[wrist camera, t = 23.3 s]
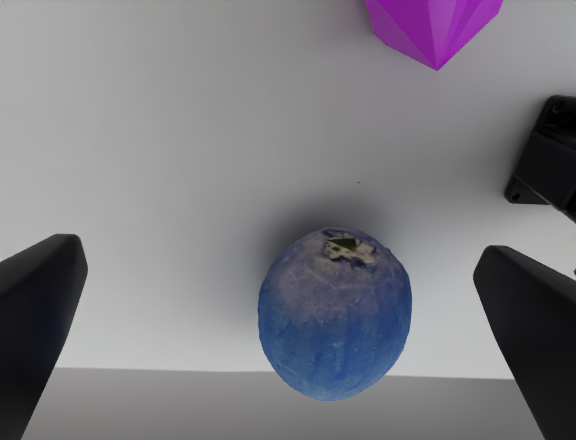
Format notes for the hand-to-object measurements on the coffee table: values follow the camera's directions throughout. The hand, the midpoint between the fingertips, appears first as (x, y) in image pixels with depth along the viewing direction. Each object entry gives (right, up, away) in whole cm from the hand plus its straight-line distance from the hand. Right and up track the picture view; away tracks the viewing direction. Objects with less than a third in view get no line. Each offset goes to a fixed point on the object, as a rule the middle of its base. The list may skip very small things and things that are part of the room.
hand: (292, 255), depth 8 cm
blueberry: (+2, -1, +17) cm, 17 cm away
